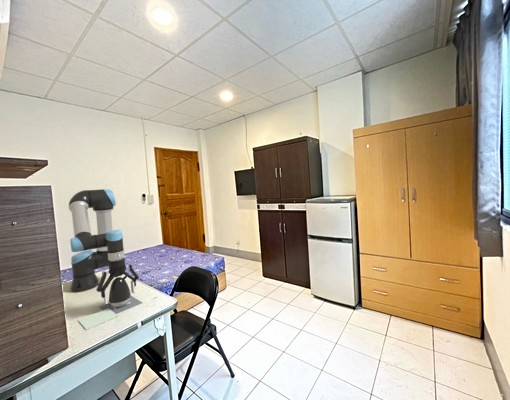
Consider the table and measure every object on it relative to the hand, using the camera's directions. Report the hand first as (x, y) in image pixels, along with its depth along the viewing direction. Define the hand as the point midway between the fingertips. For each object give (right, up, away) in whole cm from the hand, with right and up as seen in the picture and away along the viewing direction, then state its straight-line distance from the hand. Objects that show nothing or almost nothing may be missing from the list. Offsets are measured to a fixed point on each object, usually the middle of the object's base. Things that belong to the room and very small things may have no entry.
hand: (120, 297), depth 123 cm
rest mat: (-4, -5, -12) cm, 14 cm away
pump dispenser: (0, -4, 0) cm, 4 cm away
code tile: (0, -4, 0) cm, 4 cm away
